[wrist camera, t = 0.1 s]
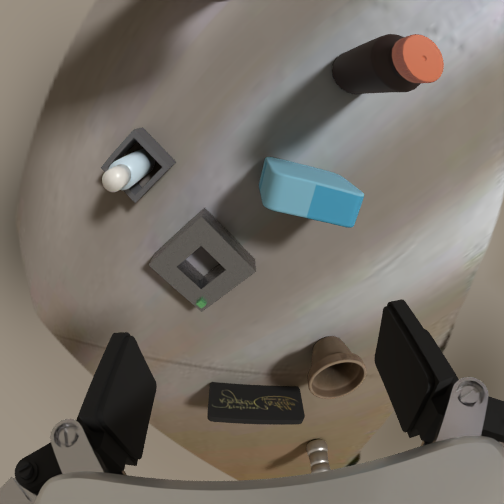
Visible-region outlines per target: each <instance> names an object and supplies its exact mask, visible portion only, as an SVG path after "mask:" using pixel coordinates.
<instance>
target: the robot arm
mask: <svg viewBox="0 0 504 504" xmlns="http://www.w3.org/2000/svg"><path fill="white" fill-rule="evenodd" d="M375 364H376V367H377V369H378V371H379V374H380V376H381V378H382V381H383V383H384V386H385V388H386V390H387V393H388V395H389V398H390V400H391V403H392V405H393V408H394V410H395V412H396V415H397V418H398V420H399V423H400V425H401V428H402V430H403V431H404V432H407V433H408V435H409V437H410V438H411V437H414V436H417V435H420V438H421V440H423V442H422V444H421V446H420V447H417V448H414V449H411V450H408V451H405V452H402V453H398V454H395V455H392V456H388V457H384V458H381V459H377V460H374V461H370V462H366V463H362V464H357V465H353V466H349V467H344V468H339V469H334V470H329V471H324V472H318V473H312V474H305V475H298V476H290V477H282V478H272V479H260V480H244V481H181V480H165V479H155V478H143V477H135V476H127V475H126V473H125V471H124V468H125V464H127V465H134V466H137V461H138V459H141V457H142V454H143V448H144V444H145V439H146V434H147V429H148V424H149V420H150V415H151V411H152V406H153V402H154V397H155V393H156V381H155V379H154V377H153V375H152V373H151V371H150V369H149V367H148V365H147V363H146V361H145V359H144V357H143V355H142V353H141V351H140V349H139V347H138V344H137V342H136V340H135V338H134V337H133V336H130V334H129V333H127V332H125V333H114V334H113V335H112V337H111V339H110V341H109V343H108V345H107V348H106V350H105V352H104V354H103V357H102V359H101V361H100V363H99V366H98V368H97V370H96V372H95V375H94V377H93V380H92V382H91V384H90V387H89V389H88V392H87V394H86V397H85V399H84V402H83V404H82V407H81V410H80V412H79V415H78V417H77V420H73V419H65V420H63V421H60V422H59V423H57V424H56V425H55V427H54V428H53V430H52V432H51V436H50V439H51V443H49V444H47V445H46V446H44V447H42V448H40V449H39V450H37V451H35V452H33V453H32V454H30V455H28V456H26V457H25V458H23V459H22V460H20V461H19V463H18V464H17V466H16V468H15V478H12V477H11V478H10V479H9V480H8V481H7V482H6V483H5V484H4V485H3V486H2V487H1V488H0V504H504V401H501V400H498V399H495V398H492V397H489V396H488V391H487V388H486V386H485V385H484V384H483V383H482V382H481V381H480V380H478V379H476V378H473V377H465V378H462V379H460V380H459V379H458V377H457V376H456V374H455V372H454V371H453V369H452V368H451V366H450V364H449V363H448V361H447V359H446V358H445V356H444V355H443V353H442V352H441V350H440V348H439V347H438V345H437V344H436V342H435V341H434V339H433V338H432V336H431V335H430V333H429V332H428V331H427V330H425V329H424V328H423V327H422V325H421V324H420V322H419V321H418V319H417V318H416V317H415V315H414V314H413V312H412V311H411V309H410V308H409V306H408V305H407V304H406V302H405V301H404V300H397V301H392V302H389V303H388V304H387V306H386V307H384V309H383V314H382V320H381V326H380V332H379V337H378V343H377V348H376V353H375Z"/></svg>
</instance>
